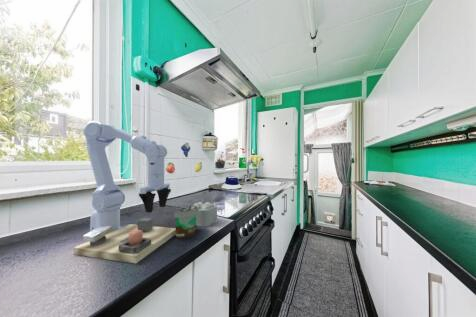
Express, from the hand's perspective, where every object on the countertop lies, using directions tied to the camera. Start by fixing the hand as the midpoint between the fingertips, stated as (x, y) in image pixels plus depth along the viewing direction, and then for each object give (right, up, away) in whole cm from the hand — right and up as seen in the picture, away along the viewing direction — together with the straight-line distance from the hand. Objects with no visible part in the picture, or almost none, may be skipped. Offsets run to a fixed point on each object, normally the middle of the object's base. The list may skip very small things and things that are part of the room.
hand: (156, 209), depth 65 cm
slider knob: (-3, -7, -2) cm, 8 cm away
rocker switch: (-13, -4, -12) cm, 18 cm away
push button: (+1, -6, -15) cm, 16 cm away
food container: (+13, -10, 0) cm, 17 cm away
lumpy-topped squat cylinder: (+15, -10, +14) cm, 23 cm away
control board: (-5, -9, -8) cm, 13 cm away
